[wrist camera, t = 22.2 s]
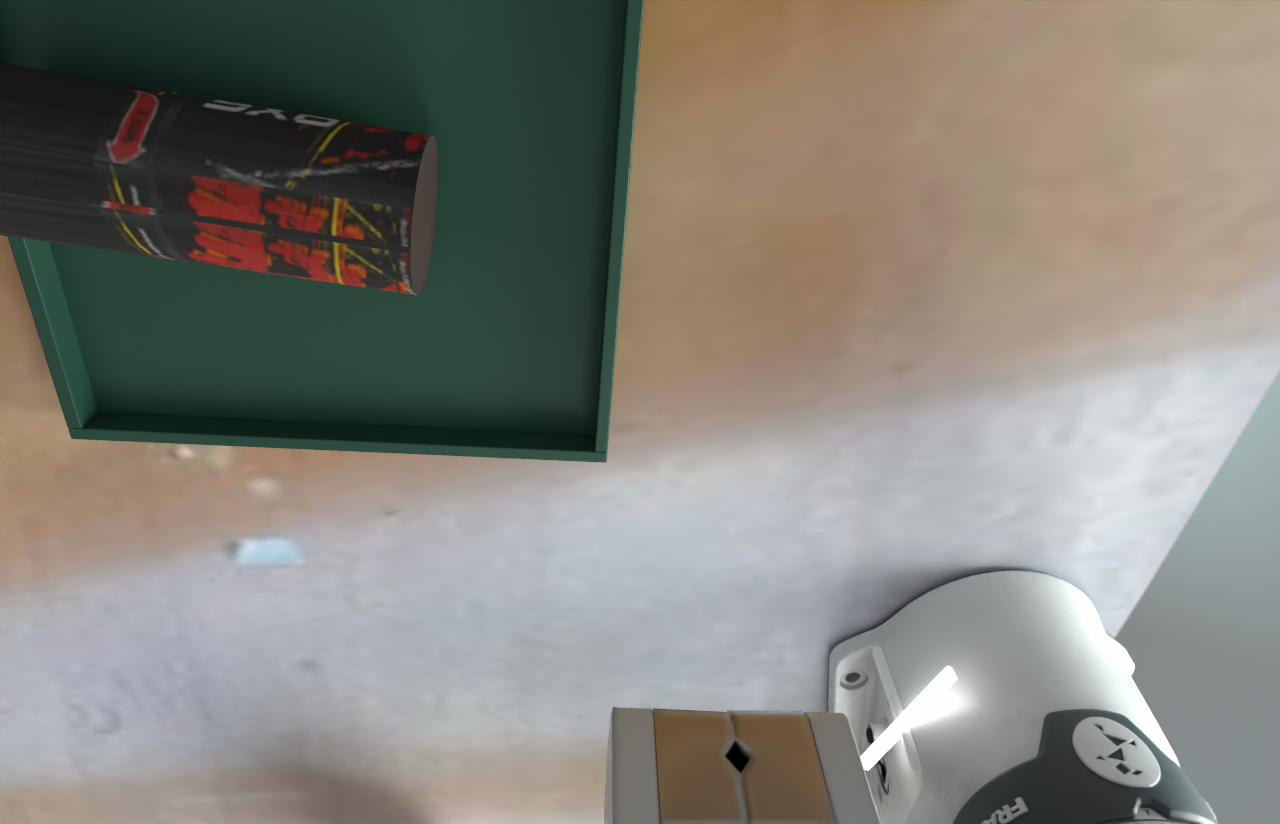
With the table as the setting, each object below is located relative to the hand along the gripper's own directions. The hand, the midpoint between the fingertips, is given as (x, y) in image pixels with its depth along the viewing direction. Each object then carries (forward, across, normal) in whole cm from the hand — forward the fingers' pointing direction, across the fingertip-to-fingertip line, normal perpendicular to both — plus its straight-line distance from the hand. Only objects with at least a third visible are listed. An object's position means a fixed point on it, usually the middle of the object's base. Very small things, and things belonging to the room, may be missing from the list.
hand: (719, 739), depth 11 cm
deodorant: (+24, +8, +1) cm, 25 cm away
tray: (+27, +13, +1) cm, 30 cm away
